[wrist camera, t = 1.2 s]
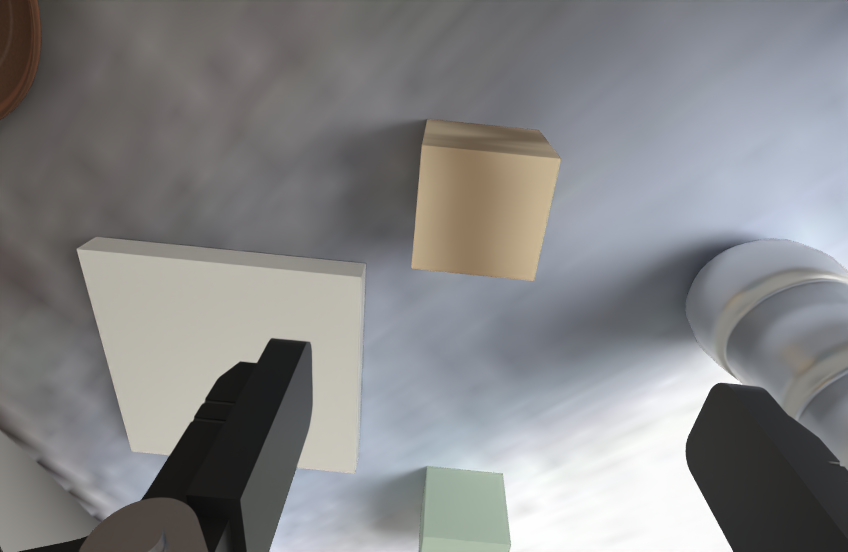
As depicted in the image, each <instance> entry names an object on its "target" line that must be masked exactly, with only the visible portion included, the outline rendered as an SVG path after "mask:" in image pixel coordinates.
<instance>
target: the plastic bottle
mask: <svg viewBox="0 0 848 552" xmlns="http://www.w3.org/2000/svg"><path fill="white" fill-rule="evenodd" d="M686 315H687V319H688V321H689V324H690V326H691V328H692V331H693V333H694V336H695V338H696V341H697V343H698V344H699V345H700V347H701V348H702V349H703V350H704V351H705V352H706V353H707V354H708V355H709V356H710V357H711V358H712V359H713V360H714V361H715V362H716V363H717V364H718V365H719V366H720V367H722V368H723V369H724V370H726V371H727V372H728V373H729V374H731V375H732V376H733V377H735V378H736V379H737V380H739V381H740V382H741V383H742V384H743V385H749V386H758V387H762V388H764V389H765V390H767V391H768V392H769V393H770V395H771V396H772V397H773V398H774V399H775V400H776V402H777V403H778V404H779V405H780V406H781V407H782V409H783V410H784V411H785V412H786V413H787V414H788V416H791V417H792V418H793V419H795V420H796V421H797V422H799V423H800V424H801V425H803V426H804V427H806V428H807V429H808V430H810V431H811V432H812V433H814V434H815V435H816V436H818V437H819V438H820V439H821V441H822V442H823V443H824V444H825V445H826V446H827V447H828V448H829V450H830V451H831V452H832V453H833V454H834V455H835V456H836V457H837V459H838V460H839V461H840V466H845V468H846V469H847V470H848V271H847V270H846V269H845V268H844V267H843V266H842V265H841V264H840V263H839V262H837V261H836V260H835V259H834V258H833V257H831V256H829V255H828V254H826V253H824V252H822V251H819V250H817V249H814V248H811V247H809V246H806V245H804V244H801V243H798V242H794V241H790V240H787V239H763V240H756V241H752V242H748V243H744V244H740V245H737V246H734V247H732V248H729V249H727V250H725V251H723V252H722V253H720V254H718V255H717V256H715V257H714V258H713V259H711V260H710V261H709V262H708V263H707V264H706V265H705V266H704V267H703V268H702V269H701V270H700V271H699V273H698V274H697V276H696V277H695V279H694V281H693V283H692V285H691V287H690V290H689V292H688V295H687V300H686Z"/></svg>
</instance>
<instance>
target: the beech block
mask: <svg viewBox="0 0 848 552" xmlns="http://www.w3.org/2000/svg"><path fill="white" fill-rule="evenodd" d="M560 162H561V158H560V157H559V155H558V154H557V153H556V152H555V150H554V149H553V148H552V146H551V145H550V144H549V142H548V141H547V140H546V139H545V137H544V136H543V135H542V133H541V132H540V131H539V130H533V129H523V128H513V127H503V126H493V125H483V124H473V123H463V122H453V121H443V120H433V119H427V123H426V128H425V133H424V138H423V142H422V150H421V162H420V173H419V185H418V197H417V208H416V220H415V232H414V243H413V255H412V267H411V269H420V270H430V271H440V272H450V273H460V274H470V275H480V276H490V277H500V278H510V279H520V280H530V281H534V279H535V274H536V270H537V265H538V261H539V256H540V252H541V247H542V243H543V238H544V234H545V229H546V225H547V220H548V216H549V211H550V207H551V202H552V198H553V193H554V189H555V184H556V180H557V175H558V171H559V166H560Z"/></svg>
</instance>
